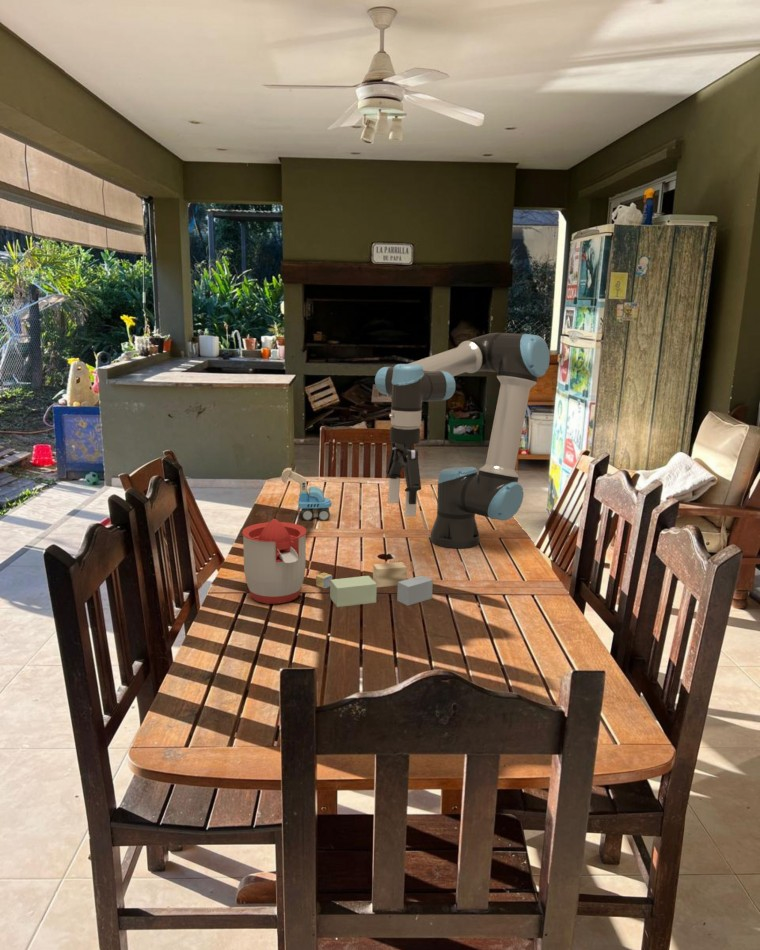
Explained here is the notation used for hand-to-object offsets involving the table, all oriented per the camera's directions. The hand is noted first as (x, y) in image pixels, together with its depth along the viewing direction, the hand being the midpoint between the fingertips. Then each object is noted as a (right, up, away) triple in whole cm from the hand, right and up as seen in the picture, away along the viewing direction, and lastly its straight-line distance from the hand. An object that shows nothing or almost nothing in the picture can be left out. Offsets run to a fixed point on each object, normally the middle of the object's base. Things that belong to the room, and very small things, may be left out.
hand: (401, 509), depth 193 cm
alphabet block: (-20, -20, +3) cm, 28 cm away
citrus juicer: (-31, -22, -6) cm, 38 cm away
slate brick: (+3, -22, -5) cm, 23 cm away
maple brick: (-3, -20, +5) cm, 21 cm away
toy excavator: (-30, -6, +63) cm, 71 cm away
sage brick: (-12, -22, -6) cm, 26 cm away
